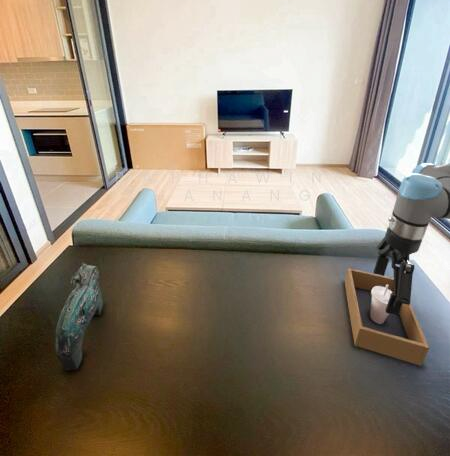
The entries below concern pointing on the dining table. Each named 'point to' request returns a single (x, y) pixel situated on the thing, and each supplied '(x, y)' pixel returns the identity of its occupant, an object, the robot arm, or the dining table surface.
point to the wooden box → (380, 341)
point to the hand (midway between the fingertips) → (384, 291)
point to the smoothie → (379, 303)
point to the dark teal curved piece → (77, 316)
